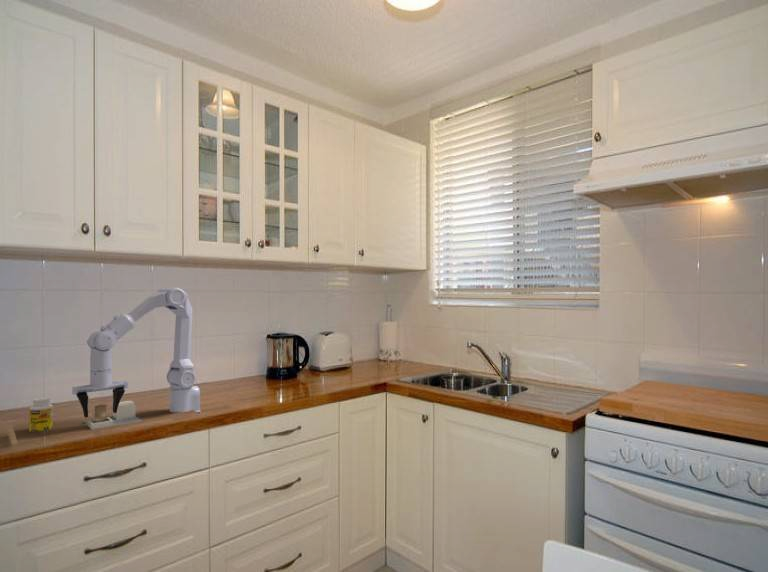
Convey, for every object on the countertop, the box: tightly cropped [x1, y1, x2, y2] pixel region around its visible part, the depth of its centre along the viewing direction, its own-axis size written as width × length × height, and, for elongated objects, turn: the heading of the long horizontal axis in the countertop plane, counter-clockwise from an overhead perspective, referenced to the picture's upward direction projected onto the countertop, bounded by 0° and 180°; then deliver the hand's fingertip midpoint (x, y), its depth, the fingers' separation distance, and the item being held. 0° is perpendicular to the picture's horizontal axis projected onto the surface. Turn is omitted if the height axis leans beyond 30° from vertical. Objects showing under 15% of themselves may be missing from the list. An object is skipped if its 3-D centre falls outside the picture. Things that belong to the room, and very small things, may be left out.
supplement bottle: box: [28, 397, 54, 433], centre depth 137 cm, size 6×6×10 cm
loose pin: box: [94, 404, 107, 423], centre depth 141 cm, size 3×3×6 cm
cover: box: [112, 400, 136, 420], centre depth 151 cm, size 5×5×4 cm
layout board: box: [83, 410, 143, 431], centre depth 145 cm, size 14×13×4 cm
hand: (100, 414), depth 141 cm, fingers open, 7 cm apart
